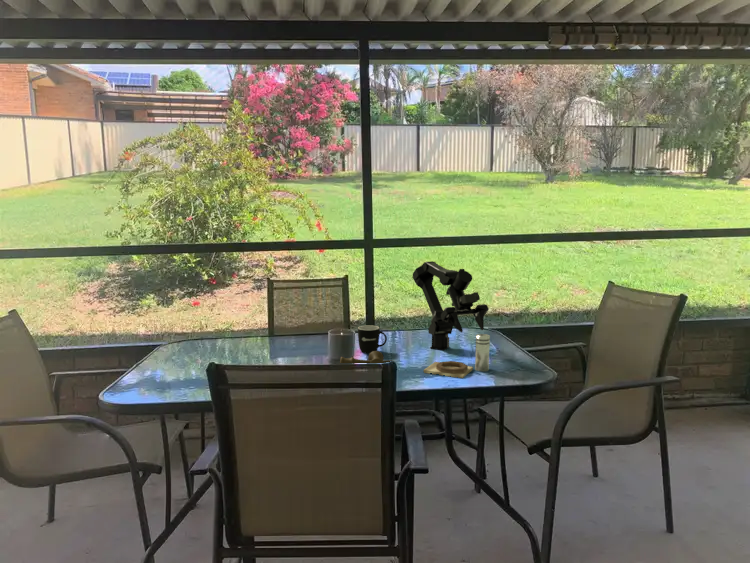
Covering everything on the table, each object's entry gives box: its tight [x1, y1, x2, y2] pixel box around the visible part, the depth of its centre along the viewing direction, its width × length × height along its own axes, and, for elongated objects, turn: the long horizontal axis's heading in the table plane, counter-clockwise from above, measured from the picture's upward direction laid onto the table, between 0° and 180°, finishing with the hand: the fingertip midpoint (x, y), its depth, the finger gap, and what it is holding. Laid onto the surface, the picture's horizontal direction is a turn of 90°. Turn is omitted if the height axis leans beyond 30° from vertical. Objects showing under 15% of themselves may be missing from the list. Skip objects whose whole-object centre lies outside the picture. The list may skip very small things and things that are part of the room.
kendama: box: [339, 350, 393, 364], centre depth 224 cm, size 6×10×20 cm
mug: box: [357, 324, 388, 354], centre depth 248 cm, size 12×9×10 cm
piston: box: [474, 333, 491, 372], centre depth 223 cm, size 5×5×13 cm
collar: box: [423, 360, 474, 379], centre depth 222 cm, size 15×12×2 cm
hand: (472, 330), depth 229 cm, fingers open, 9 cm apart
